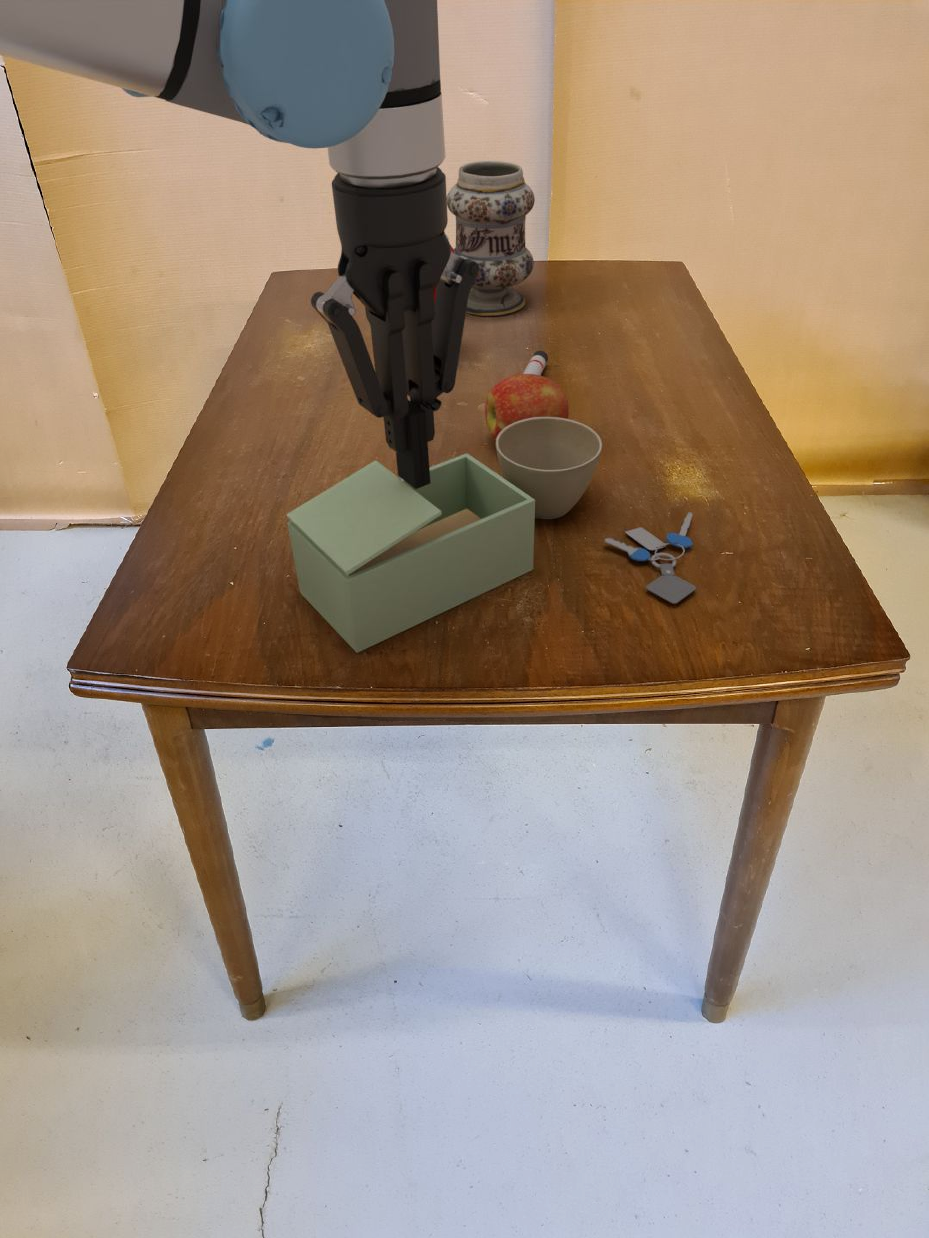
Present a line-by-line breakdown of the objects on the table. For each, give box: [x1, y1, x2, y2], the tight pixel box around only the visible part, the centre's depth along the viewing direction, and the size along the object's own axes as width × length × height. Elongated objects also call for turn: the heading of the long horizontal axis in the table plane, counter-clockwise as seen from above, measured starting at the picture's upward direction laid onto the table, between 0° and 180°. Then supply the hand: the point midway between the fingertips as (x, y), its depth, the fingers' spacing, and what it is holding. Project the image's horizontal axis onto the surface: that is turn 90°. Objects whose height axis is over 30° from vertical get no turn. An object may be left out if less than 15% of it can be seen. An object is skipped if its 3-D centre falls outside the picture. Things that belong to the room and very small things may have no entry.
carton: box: [286, 453, 536, 654], centre depth 79 cm, size 18×10×8 cm, turn 126°
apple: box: [484, 373, 570, 441], centre depth 97 cm, size 8×8×8 cm
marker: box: [522, 350, 549, 376], centre depth 108 cm, size 15×2×2 cm, turn 164°
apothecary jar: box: [446, 160, 536, 317], centre depth 124 cm, size 12×12×18 cm
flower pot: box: [495, 417, 603, 520], centre depth 88 cm, size 10×10×7 cm
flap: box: [286, 459, 442, 575], centre depth 73 cm, size 9×10×1 cm
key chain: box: [604, 511, 697, 605], centre depth 83 cm, size 14×8×1 cm, turn 170°
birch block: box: [349, 509, 481, 576], centre depth 80 cm, size 4×14×4 cm, turn 127°
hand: (414, 479), depth 75 cm, fingers closed
